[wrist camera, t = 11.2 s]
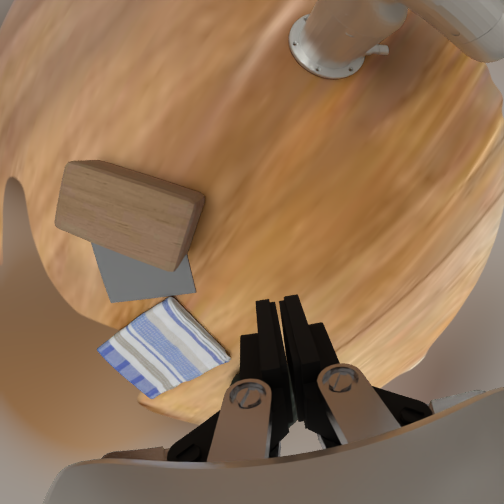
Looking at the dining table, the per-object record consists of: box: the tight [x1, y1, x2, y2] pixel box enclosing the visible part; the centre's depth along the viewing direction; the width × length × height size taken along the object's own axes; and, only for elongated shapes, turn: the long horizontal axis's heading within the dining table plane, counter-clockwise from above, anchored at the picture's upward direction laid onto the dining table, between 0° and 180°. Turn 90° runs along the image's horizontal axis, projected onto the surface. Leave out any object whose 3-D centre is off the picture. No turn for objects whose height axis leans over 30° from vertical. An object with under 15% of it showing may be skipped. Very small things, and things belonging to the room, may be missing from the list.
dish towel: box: [97, 297, 231, 399], centre depth 51 cm, size 17×24×3 cm
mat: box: [91, 242, 196, 303], centre depth 46 cm, size 17×16×1 cm
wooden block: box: [55, 160, 205, 272], centre depth 38 cm, size 10×10×20 cm
